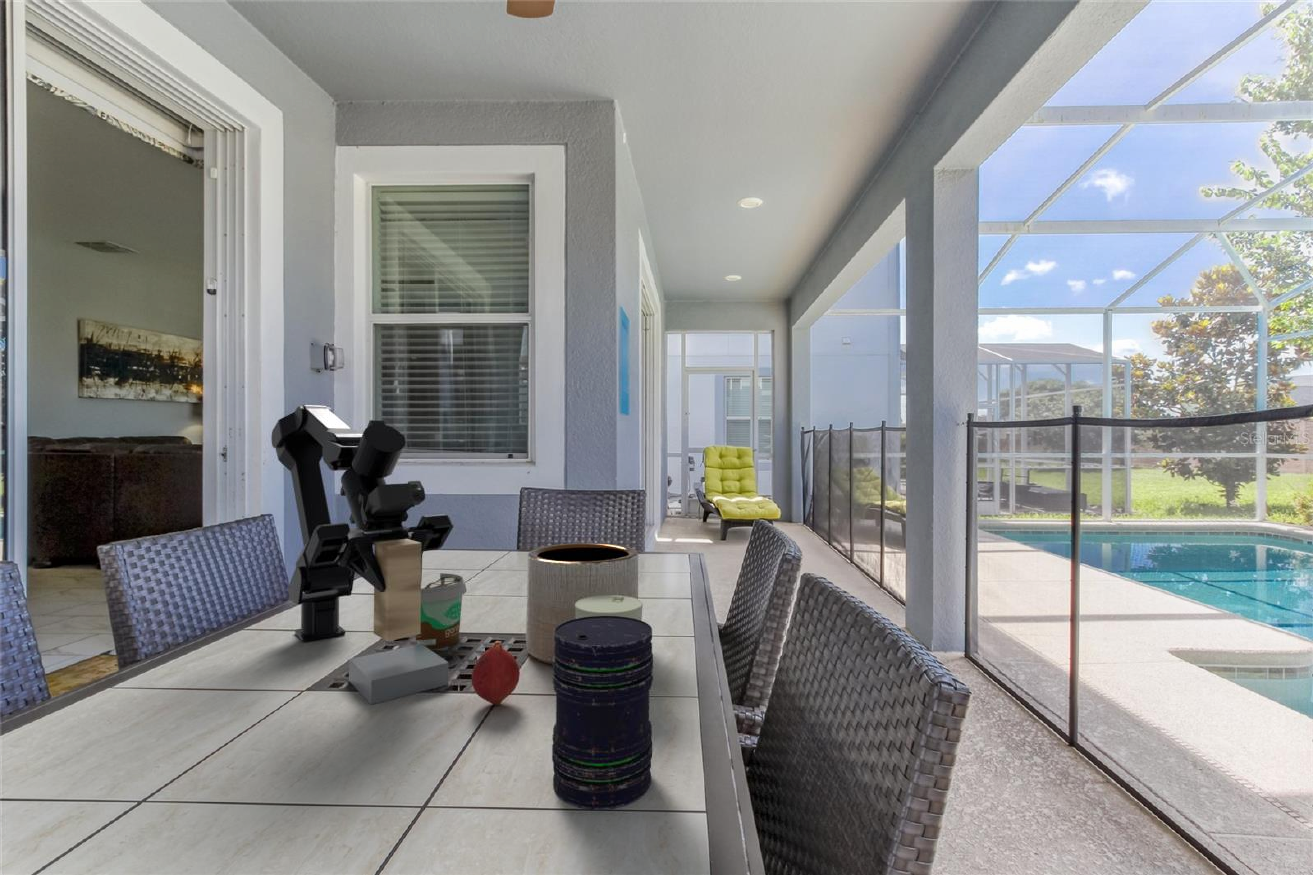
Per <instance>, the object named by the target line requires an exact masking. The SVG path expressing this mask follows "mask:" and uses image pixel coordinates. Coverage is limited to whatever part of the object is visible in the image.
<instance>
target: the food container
mask: <svg viewBox="0 0 1313 875" xmlns="http://www.w3.org/2000/svg"><path fill="white" fill-rule="evenodd" d="M466 585H467V584H466V582H465V580H464V578H463V576H461V575H458V574H456V573H455V574H454V573H448V572H447V573H444V572H442V573H441V572H440V573H439V579H438V580H436V581H433V582H429V583H428V584H426V585H425V587H424V588H421V626H420V634H418V635H415V645H419V644H422V645H424V646H425V647H427V648H428V649H430V650H431V651H433V650H438V649H443V648H446V647H449V646H452V645H455V644H456V643H458V641H459V639H460V628H461V619H462V618H461V616H462V615H461V614H462V604H463V595H464V594H466V593H467V586H466Z"/></svg>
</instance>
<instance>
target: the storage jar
mask: <svg viewBox="0 0 1313 875" xmlns="http://www.w3.org/2000/svg"><path fill="white" fill-rule="evenodd" d="M652 640H653V628H652V626H651V625H650V624H649V623H647V622H645V621H643V620H642V621H641V620H638V619H634V618H629V617H621V616H591V617H583V618H578V619H573V620H570V621H567V622H564V623H562V624H560V625H559V626H557V627H556V628H555V630H554V641H555V645H554V656H553V665H552V671H553V678H552V684H553V690H554V693H555V694H556V695H555V697H556V698H555V702H556V703H555V724H554V725H553V728H552V729H553V730H552V731H553V732H552V746H551V754H552V755H551V758H552V759H551V760H552V763H553V764H552V768H553V769H552V770H553V778H552V787H553V791H554V793H555V794H556V796H557V797H558V798H559V799H560V800H561V801H563V802H564V803H566V804H568V805H571V806H572V807H573V806H574V807H576V808H580V809H585V810H594V811H595V810H596V811H597V810H599V811H600V810H601V811H602V810H613V809H617V808H621V807H625V806H627V805H631V804H633V803H635V802H637V801H638V800H640V799H641V798H642V797H644V796H645V795H646V793H647V792H648V791H649V790H650V788H651V785H652V772H651V767H652V758H653V740H652V736H653V731H652V730H653V729H652V722H651V720H650V691H651V689H652V686H653V680H654V675H653V668H654V655H653V643H652Z"/></svg>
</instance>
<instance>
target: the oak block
mask: <svg viewBox="0 0 1313 875" xmlns="http://www.w3.org/2000/svg"><path fill="white" fill-rule="evenodd" d="M373 552H374V555H375V557H376V560H377V562H378V565H379V567H380V570H381V572H382V575H383V577H384V581H385V585H386V589H385V591H384V592H380V591H379V590H377V589H376V588H375V587H374V586H373V634H374V635H375V636H377V637H379V638H380V639H382V640H384V641H386V642H390V641H391V642H392V641H395V640H400V639H403V638H409V637H413V636H416V635H418V634H420V626H421V589H422V581H421V543H420V542H416V541H413V540H409V539H401V540H392V541H383V542H375V546H374V548H373Z"/></svg>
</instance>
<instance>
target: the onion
mask: <svg viewBox="0 0 1313 875" xmlns="http://www.w3.org/2000/svg"><path fill="white" fill-rule="evenodd" d="M520 674H521V671H520V667H519V664H518V662H517V660H516V658H515V657H514V656H513V655H512V653H511V652H509V651H507V649H505V648H503V642H502V641H501V640H496V641H495V642H494V643H493V644H492V645H491V646H490V648H488V649H487V650H485V651H484V652H483V653H482V654H481V655H480V656H479V658H478V660H477V661H476V662H475V664H474V666H473V669H472V672H471V676H470V677H471V679H470V680H471V685H472V687H473V689H474V692H475V693H476V695H477V696H478V697H480V698H481V699H482V700H484V701H486V702H489V704H492V705H494V706H498V705H501V704H502V702H503V701H504V700H506V698H508V697H509V696H510V695H511V694H512V693H513V692H514V691H515V690H516V687H517V686H518V684H519V681H520Z"/></svg>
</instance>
